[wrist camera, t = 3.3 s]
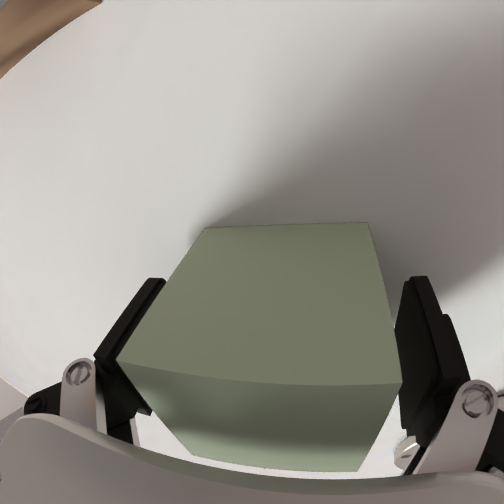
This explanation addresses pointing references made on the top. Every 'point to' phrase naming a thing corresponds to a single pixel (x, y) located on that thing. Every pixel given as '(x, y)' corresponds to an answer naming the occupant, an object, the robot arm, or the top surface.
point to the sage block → (271, 347)
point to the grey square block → (2, 3)
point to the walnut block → (33, 25)
